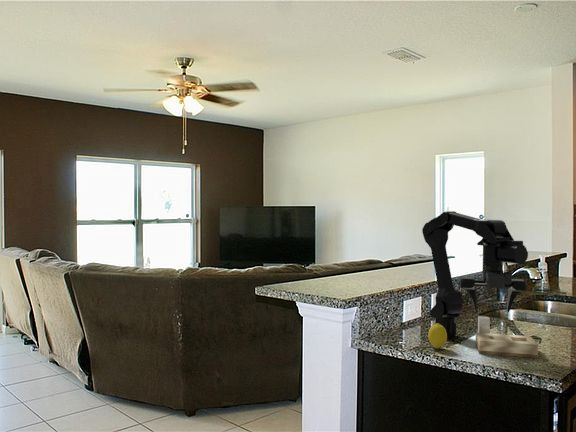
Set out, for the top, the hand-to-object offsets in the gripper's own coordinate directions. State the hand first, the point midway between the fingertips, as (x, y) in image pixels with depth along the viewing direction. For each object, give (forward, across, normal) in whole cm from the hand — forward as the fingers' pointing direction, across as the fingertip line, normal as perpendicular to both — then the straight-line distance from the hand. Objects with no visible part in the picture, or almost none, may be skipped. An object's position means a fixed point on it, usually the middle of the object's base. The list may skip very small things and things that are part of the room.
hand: (491, 311), depth 154 cm
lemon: (+12, -16, -3) cm, 20 cm away
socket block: (+12, +4, 0) cm, 13 cm away
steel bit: (+12, -1, +10) cm, 16 cm away
